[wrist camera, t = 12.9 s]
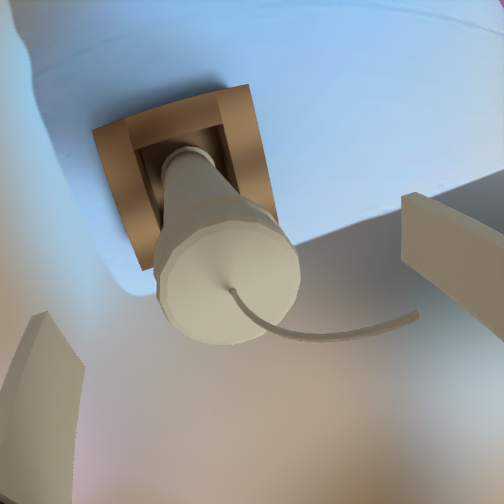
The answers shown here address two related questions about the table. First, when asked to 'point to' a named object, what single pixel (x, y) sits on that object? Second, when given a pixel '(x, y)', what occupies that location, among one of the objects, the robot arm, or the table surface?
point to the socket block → (175, 136)
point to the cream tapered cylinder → (227, 260)
